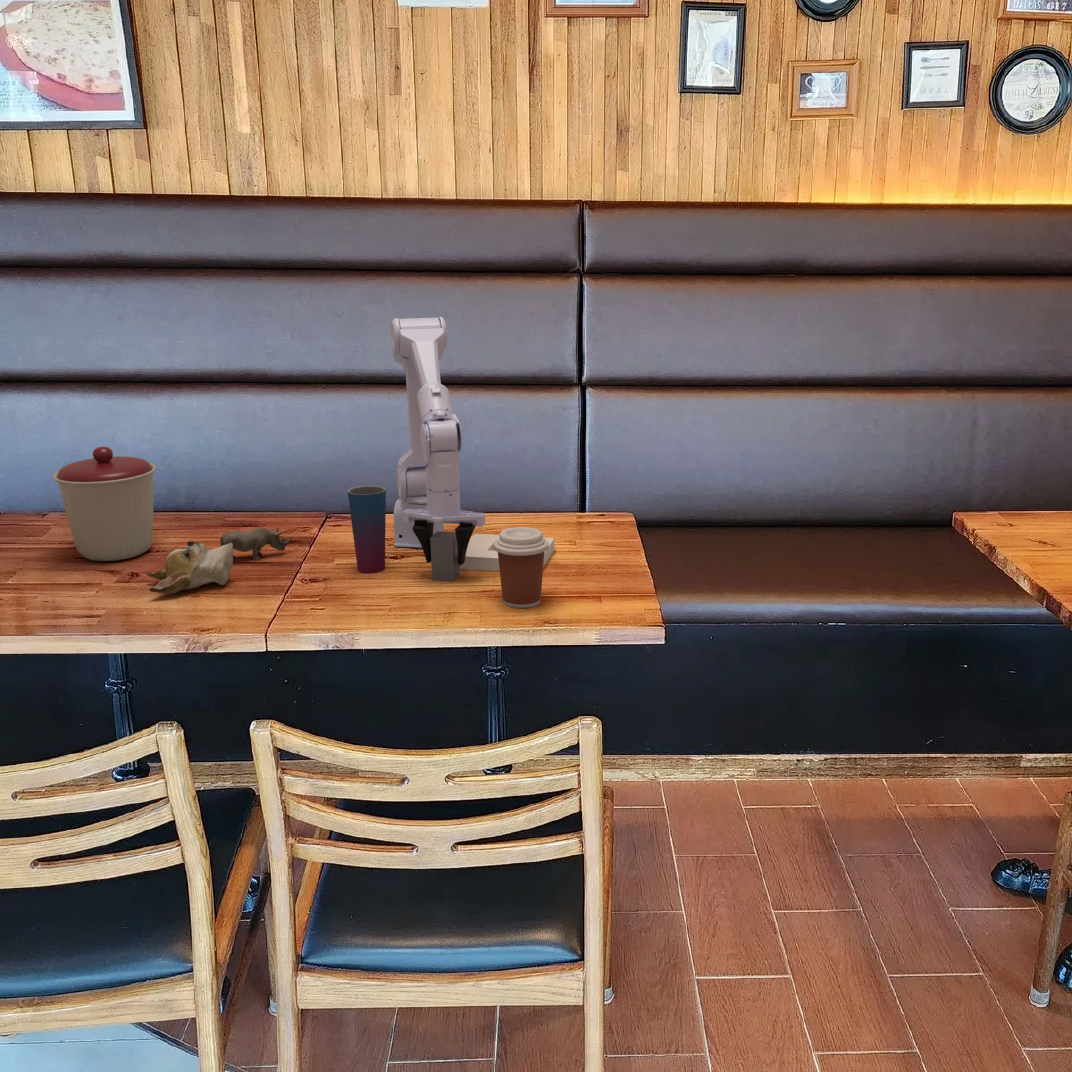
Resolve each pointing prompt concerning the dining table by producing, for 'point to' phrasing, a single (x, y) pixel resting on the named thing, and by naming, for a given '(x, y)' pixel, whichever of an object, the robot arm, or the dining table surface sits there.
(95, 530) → the canister
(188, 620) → the dining table surface
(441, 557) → the plug
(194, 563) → the ceramic sculpture
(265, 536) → the rhino figurine
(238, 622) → the dining table surface
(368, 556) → the cup
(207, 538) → the dining table surface
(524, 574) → the coffee cup
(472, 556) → the socket plate
